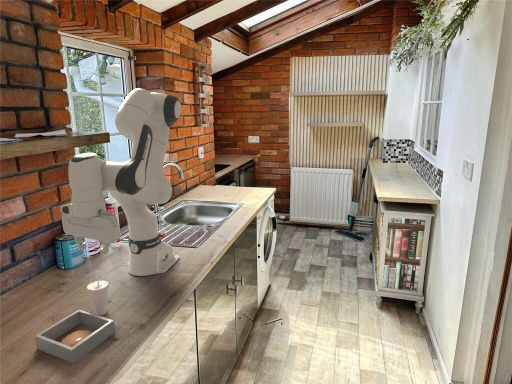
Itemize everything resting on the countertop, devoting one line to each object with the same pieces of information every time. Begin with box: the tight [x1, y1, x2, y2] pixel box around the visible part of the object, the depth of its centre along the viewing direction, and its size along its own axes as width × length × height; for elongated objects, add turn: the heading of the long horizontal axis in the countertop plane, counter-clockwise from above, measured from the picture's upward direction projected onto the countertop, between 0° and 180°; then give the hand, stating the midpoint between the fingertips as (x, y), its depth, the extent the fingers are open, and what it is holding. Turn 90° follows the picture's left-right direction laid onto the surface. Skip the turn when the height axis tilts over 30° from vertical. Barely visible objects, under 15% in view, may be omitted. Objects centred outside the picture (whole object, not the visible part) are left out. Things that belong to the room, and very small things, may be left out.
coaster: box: [60, 329, 93, 347], centre depth 99 cm, size 8×8×1 cm
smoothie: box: [86, 271, 110, 316], centre depth 110 cm, size 6×6×14 cm
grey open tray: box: [34, 309, 116, 364], centre depth 98 cm, size 14×14×4 cm
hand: (93, 251), depth 107 cm, fingers open, 8 cm apart
